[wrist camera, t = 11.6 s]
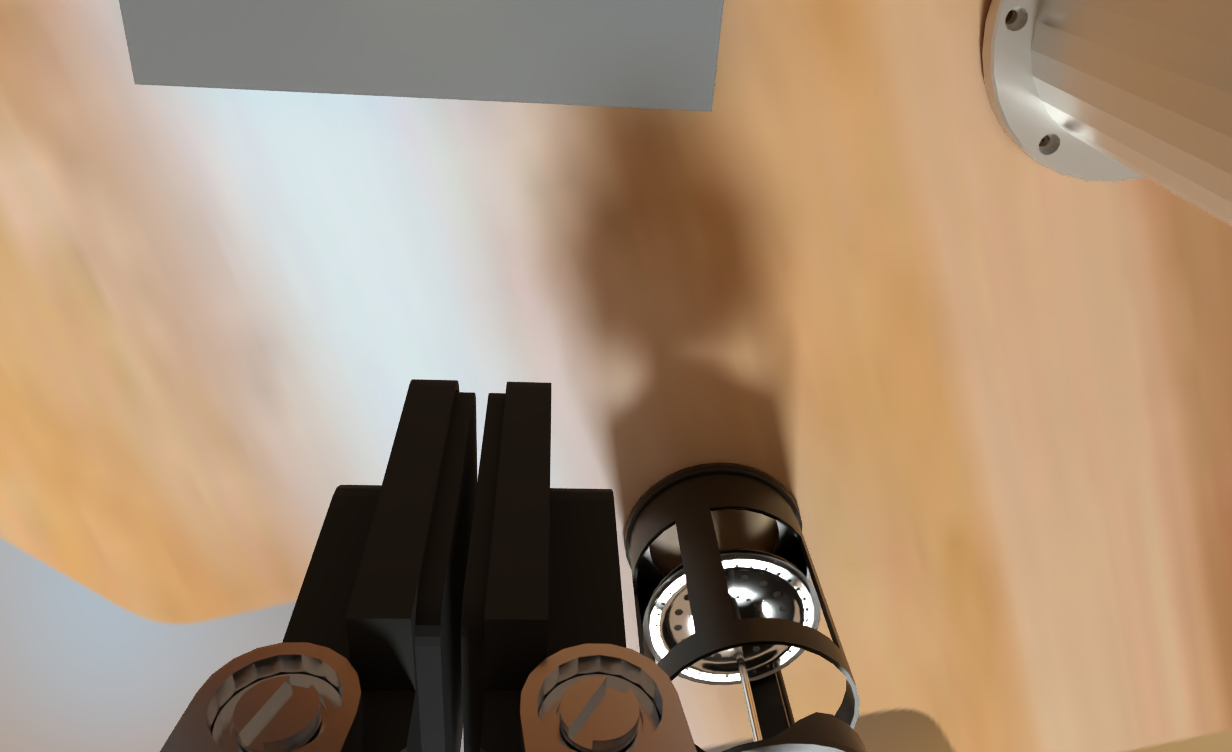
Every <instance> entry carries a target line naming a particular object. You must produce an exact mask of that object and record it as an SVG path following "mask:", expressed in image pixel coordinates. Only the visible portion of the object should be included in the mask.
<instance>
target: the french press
mask: <svg viewBox="0 0 1232 752" xmlns="http://www.w3.org/2000/svg"><path fill="white" fill-rule="evenodd" d="M724 509H735V510H747V511H752V512H756V513H761V514H763V515H766V516H768V517H771V518H773V519H775V520H776V522H777V526H778V539H777V543H776V547H775V549H774V551H773V553H772V554H771V553H769V552H764V551H759V550H755V549H745V548H726V549H719V548H718V543H717V539H716V534H715V530H714V525H713V521H712V517H711V512H710V511H715V510H724ZM674 524H676V527H677V533H678V539H679V545H680V550H681V556H682V562H683V563H681V564H680V565H679V566H677V567H676V568H674V569H673V570H672V571H671V572H670V573H669V574H668V575H665V574H664V573H663V572H662V571H661V570H660V569H659V568H658V567H657V565H656V564H655V562H654V561H653V559H652V556H651V553H650V549H649V546H650V545H651V543H652V542H653V541H654V540H655V539H656V538H657V537H658V536H659V535H661V534H662V533H663V532H664V531H665V530H667V529H668V528H670V527H671V526H673V525H674ZM624 541H625V550H626V557H627V560H628V562H629V565H630V567H631V569H632V578H633V588H634V597H635V607H636V617H637V627H638V637H639V647H640V654H642V655H644V656H646V657H647V658H649V659H651V660H653V661H654V662H655V659H656V660H657V661H658V662H659V663H658V664H657V665H658V666H659V667H660V668H661V669H662V670H663V671H664V672H665V673H666V674H667V675H668V676H669V678H670V680H671V681H672V680H673V679H674V678H675V677H676V676H679V677H682V678H685V679H688V680H691V681H693V682H698V683H704V684H710V685H732V684H742V689H743V693H744V698H745V703H746V707H747V712H748V717H749V721H750V726H751V730H752V735H753V740H754V742H751V743H747V744H742V745H738V746H735V747H733V748H731V749H728V750H725V751H723V752H867V751H866V748H865V745H864V744H863V742H862V740H861V739H860V737H859V736H858V734H857V733H856V732H855V731H854V730H853V729H854V726H855V723H856V720H857V717H858V714H859V697H858V692H857V688H856V685H855V682H854V679H853V676H852V673H851V670H850V668H849V665H848V662H847V659H846V656H845V653H844V651H843V648H842V645H841V642H840V639H839V636H838V634H837V631H836V628H835V625H834V622H833V619H832V616H831V614H830V611H829V608H828V605H827V602H826V599H825V597H824V594H823V591H822V588H821V585H820V582H819V579H818V577H817V574H816V571H815V568H814V565H813V562H812V560H811V557H810V554H809V551H808V548H807V545H806V542H805V540H804V537H803V534H802V521H801V517H800V513H799V510H798V507H797V505H796V503H795V501H794V500H793V498H792V496H791V494H790V493H789V492H788V491H787V490H786V489H785V488H784V487H783V486H782V484H781V483H779V482H778V481H776V480H775V479H773V478H772V477H771V476H769V475H768V474H766V473H763V472H761V471H759V470H756V469H754V468H751V467H747V466H742V465H738V464H727V463H713V464H704V465H698V466H694V467H690V468H687V469H683V470H681V471H679V472H676V473H674V474H672V475H670V476H668V477H666V478H664V479H663V480H661V481H660V482H658V483H657V484H655V485H654V486H652V487H651V488H650V489H649V490H648V491H647V492H646V493H645V494H644V495H643V496H642V497H641V498H640V500H639V501H638V503H637V504H636V506H635V507H634V509H633V510H632V512H631V515H630V517H629V520H628V522H627V525H626V531H625V538H624ZM810 576H811V579H812V582H813V585H814V587H815V589H814V587H813V585H812V583H811V582H810V581H809V579H810ZM820 605H821V606H820ZM820 607H821V608H822V611H823V614H824V617H825V620H826V623H827V625H828V628H829V631H830V634H831V637H832V640H833V642H832V641H831V640H830V639H829V638H828V637H827V636H825V635H823V634H822V633H820V632H819V631H817V629H818V625H819V622H820ZM804 650H807V651H809V652H812V653H815V654H817V655H820V656H821V657H823V658H824V659H826V660H828V661H829V662H831V663H833V664H834V665H835V666H836V667H837V668H838V669H839V670H840V671H841V672H842V673H843V674H844V675H845V677H846V678H847V681H846V692H845V695H844V698H843V702H842V704H841V706H840V708H839V709H838V711H837V713H836V714H835V716H834V715H831V714H824V713H818V712H816V713H813V714H811V715H809V716H807V717H805V718H803V719H800V720H799V721H797V722H796V723H795V722H794V718H793V714H792V710H791V707H790V703H789V699H788V695H787V692H786V688H785V684H784V681H783V677H782V673H781V669H782V668H784V667H786V666H788V665H789V664H790V663H791V662H793V661H794V660H795V659H796V658H798V657H799V656H800V655H801V654H802V653H803V651H804Z"/></svg>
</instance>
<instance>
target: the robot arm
mask: <svg viewBox="0 0 1232 752" xmlns="http://www.w3.org/2000/svg"><path fill="white" fill-rule="evenodd" d="M1011 10H1012V12H1013V15H1012V17H1011V19H1010V20H1009V21H1008V22H1005V18H1006V16H1007V14H1008V12H1010V11H1011ZM982 59H983V72H984V83H985V87H986V90H987V94H988V97H989V101H990V104H991V108H992V110H993V112H994V114H995V116H996V117H997V119H998V121H999V123H1000V125H1001V127H1002V128H1003V130H1004V132H1005V133H1006V134H1007V135H1008V136H1009V137H1010V139H1011V140H1012V141H1013V142H1014V143H1015V144H1016V145H1017V146H1018V147H1019V148H1020V149H1021V150H1022V151H1023V152H1024V153H1026V154H1027V155H1028V156H1030V157H1031V158H1033V159H1034V160H1035V161H1037V162H1038V163H1040V164H1042V165H1044V166H1045V167H1047V168H1049V169H1051V170H1053V171H1055V172H1057V173H1059V174H1061V175H1064V176H1068V177H1072V178H1076V179H1080V180H1084V181H1093V182H1120V181H1127V180H1134V179H1141V178H1147V179H1149V180H1151V181H1152V182H1154V183H1156V184H1158V185H1159V186H1161V187H1163V188H1165V189H1166V190H1168V191H1170V192H1172V193H1173V194H1175V195H1177V196H1178V197H1180V198H1182V199H1184V200H1185V201H1187V202H1189V203H1191V204H1192V205H1194V206H1196V207H1198V208H1199V209H1201V210H1203V211H1205V212H1206V213H1208V214H1210V215H1212V216H1213V217H1215V218H1217V219H1219V220H1220V221H1222V222H1224V223H1225V224H1227V225H1229V226H1231V227H1232V0H992V1H991V5H990V8H989V12H988V15H987V19H986V22H985V31H984V41H983V50H982ZM1043 137H1045V139H1044V141H1043V142H1042V143H1040V141H1041V139H1042V138H1043ZM1039 143H1040V144H1039ZM550 445H551V383H535V382H507V386H506V394H505V393H489V396H488V403H487V411H486V419H485V427H484V435H483V442H482V450H481V458H480V466H479V474H478V482H477V438H476V396H475V393H464V392H459V384H458V381H455V380H414V379H413V380H411V382H410V385H409V389H408V392H407V396H406V400H405V403H404V407H403V411H402V414H401V418H400V422H399V425H398V429H397V432H396V436H395V440H394V443H393V447H392V451H391V454H390V458H389V462H388V465H387V469H386V473H385V476H384V480H383V483H382V486H379V485H340V486H338V487H337V488H336V490H335V493H334V495H333V497H332V500H331V503H330V506H329V509H328V512H327V515H326V517H325V520H324V523H323V526H322V529H321V532H320V535H319V538H318V541H317V544H316V546H315V549H314V552H313V555H312V558H311V561H310V564H309V567H308V570H307V573H306V575H305V578H304V581H303V584H302V587H301V590H300V593H299V596H298V599H297V602H296V604H295V607H294V610H293V613H292V616H291V619H290V622H289V625H288V628H287V631H286V633H285V636H284V639H283V642H282V643H278V644H274V645H269V646H265V647H260V648H257V649H254V650H252V651H250V652H248V653H245V654H243V655H241V656H239V657H237V658H234V659H233V660H231V661H230V662H228V663H227V664H225V665H224V666H223V667H222V668H220V669H219V670H217V671H216V672H215V673H213V674H212V675H211V676H210V677H209V679H208V680H207V681H206V682H205V683H204V684H203V686H202V687H201V688H200V689H199V690H198V692H197V693H196V694H195V696H194V698H193V699H192V701H191V702H190V704H189V706H188V707H187V709H186V711H185V712H184V714H183V715H182V717H181V718H180V720H179V722H178V723H177V725H176V726H175V728H174V730H173V731H172V733H171V734H170V736H169V738H168V739H167V741H166V743H165V744H164V746H163V748H162V749H161V751H160V752H460V748H461V739H462V730H463V729H464V730H463V731H464V752H705V751H703V750H702V749H701V748H699V747H698V746H697V745H695V744H694V742H693V739H692V735H691V732H690V729H689V726H688V723H687V720H686V717H685V714H684V711H683V708H682V705H681V702H680V699H679V696H678V693H677V691H676V689H675V687H674V686H673V684H672V682H671V680H670V678H669V676H668V675H667V674H666V673H665V672H664V671H663V670H662V669H661V668H660V667H659V666H658V665H657V664H656V663H655V662H654V661H653V660H651V659H649V658H647V657H646V656H644V655H642V654H640V653H638V652H636V651H634V650H632V649H629V648H626V638H625V626H624V614H623V602H622V590H621V578H620V566H619V554H618V542H617V531H616V519H615V507H614V497H613V491H612V489H562V488H550Z"/></svg>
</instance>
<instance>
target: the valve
mask: <svg viewBox="0 0 1232 752" xmlns="http://www.w3.org/2000/svg"><path fill="white" fill-rule="evenodd" d="M119 3H120V8H121V13H122V18H123V24H124V29H125V34H126V39H127V45H128V50H129V55H130V61H131V66H132V71H133V76H134V82H135V84H142V85H164V86H185V87H206V88H227V89H248V90H269V91H290V92H311V93H332V94H353V95H374V96H395V97H416V98H437V99H459V100H480V101H501V102H522V103H543V104H564V105H585V106H606V107H627V108H648V109H669V110H690V111H711V112H712V104H713V95H714V85H715V76H716V67H717V58H718V49H719V40H720V30H721V21H722V12H723V3H724V0H119Z"/></svg>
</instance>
